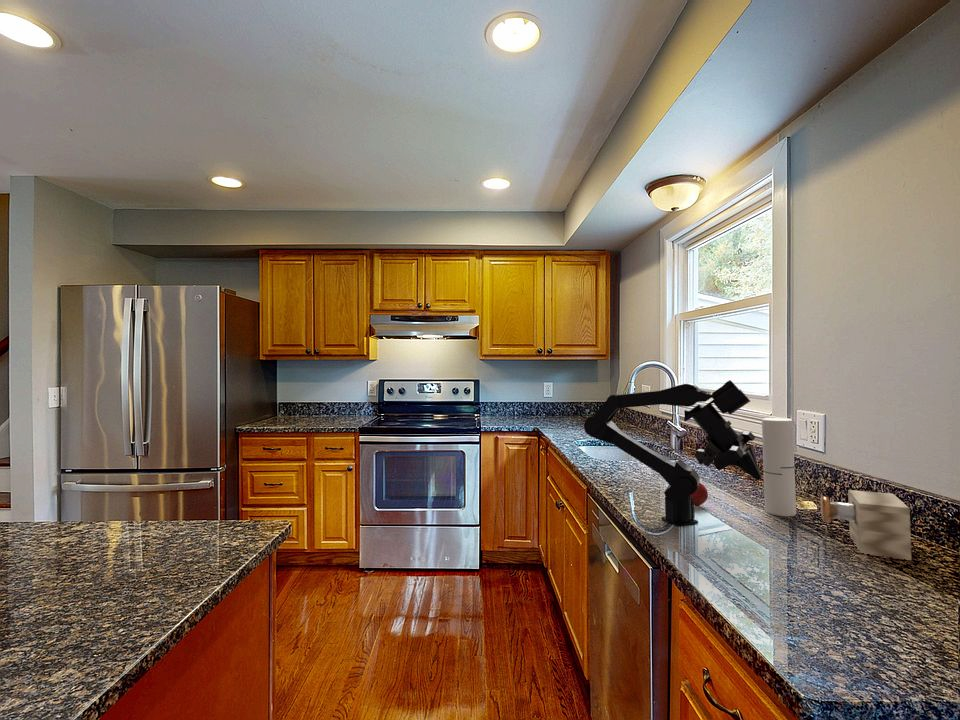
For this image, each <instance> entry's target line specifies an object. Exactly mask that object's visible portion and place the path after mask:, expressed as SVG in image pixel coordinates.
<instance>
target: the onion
mask: <svg viewBox="0 0 960 720" xmlns="http://www.w3.org/2000/svg"><path fill="white" fill-rule="evenodd" d="M689 496H690V497H693V503H694V506H695V507H697V508H698V507H700V506H701V505H703V504H704V503H705V502H706V501H708V498H709V497H708V496H709V494H708V489H707V488H706V486H705V485H704V484H702V483H701V481H700V482H699V485H698V488H697V490H696V491H695V492H694V493H693V494H691V495H689Z"/></svg>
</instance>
